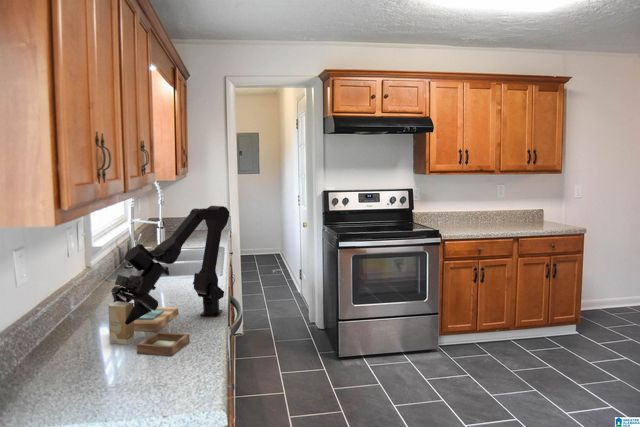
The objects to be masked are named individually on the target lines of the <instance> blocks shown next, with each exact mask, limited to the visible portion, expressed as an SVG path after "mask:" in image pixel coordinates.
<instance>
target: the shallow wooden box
mask: <svg viewBox="0 0 640 427" xmlns="http://www.w3.org/2000/svg"><path fill="white" fill-rule="evenodd" d="M150 310H151V309H150ZM178 315H179V307H169V306H167V307H165V306H163V307H161V306H160V307H159V306H158V307H157V309H156V310H155V311H154V310H151V312H149V313H147V314H145V315H143V316H141V317H140V318H138V319H136V320H135V321H134V332H135V331H136V332H137V331H139V332H160V330H162V328H164V327H165V326H166V325H168V324H169V323H170V322H171V321H172V320H173V319H174V318H176V317H177V316H178Z"/></svg>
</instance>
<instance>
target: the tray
mask: <svg viewBox="0 0 640 427" xmlns="http://www.w3.org/2000/svg"><path fill="white" fill-rule="evenodd" d="M190 341H191V339H190V334H189V333H176V332H175V333H174V332H160V331H155V333H153V334H151V335H150V336H148V337H147V338H145V339H144V340H142V341H141V342H139V343H137V344H136V353H137V354H142V355H143V354H144V355H156V356H168V357H169V356H171V357H172V356H174V355H175V354H176V353H178V352H179V351H180V350H181V349H183V348H185V346H187V345H188V344H189V343H190Z"/></svg>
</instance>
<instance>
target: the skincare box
mask: <svg viewBox="0 0 640 427" xmlns="http://www.w3.org/2000/svg"><path fill="white" fill-rule="evenodd" d="M113 302H114V301H113ZM113 302H112V303H110V304H108V305H107V306H108V327H109V328H108V330H109V331H108V332H109V343H110V344H117V345H129V344H130V343H132V342H135V340H136V339H135V331H134V321H133V322H131V323H130V324H128V325H126V324H125V321H126V319H127V317H128V316H129V314H130V312H131V311H132V309H133V307H134V302H117V301H116V302H114V303H113Z"/></svg>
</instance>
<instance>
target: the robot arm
mask: <svg viewBox="0 0 640 427" xmlns="http://www.w3.org/2000/svg"><path fill="white" fill-rule="evenodd" d="M229 218H230V211H229V209H228V208H227V206H223V205H210V206H208V207H206V208H205V207H204V208H196V207H195V208H192V209H191V210H190V212H189V214H188V215H187V216H186V218H184V220H183V221H182V223H181V224H180V225H179V226H178V228H176V230H175V231H174V232H173V233H172V234H171V236H169V237H168V238H167V239H165V240H164V241H161V242H160V244H158V245H157V246H156V247H154V249H153V250H150V251H149V250H148V249H147V248H145V246H144V245H143V244H141V243H137V244H136V245H135V246H133V247H132V248H130V249H129V250H127V251H126V253H125V255H124V258H123V259H124V260H125V262H127V263H128V264H129V265H130V266H131V267H133V268H134V269H135V270H136V271H138V272H141V273H140V274H139V275H132V274H131V275H129V277H128V276H126V275H119V274H117V277H116V280H115V283H114V285H115V286H113V288H112V289H111V290H110V293H111V296H112V298H113V302H112V303H114V302H116V301H117V302H129V303H131V302H132V301H133V305H134V307H133V309H132V311H131V312H130V314H129V316H128V317H127V319H126V321H125V324H126V325H128V324H130V323H131V322H133V321H135V320H136V319H138V318H140V317H141V316H143V315H145V314H147V313H149V312H151V310H154V311H155V310H156V309H157V307H159V300H156V298H154V297H153V296H152V295H150V293H151V291H152V290H153V291H155V290H156V289H157V287H156V284H157V282H158V281H159V280H160V278H161V277H162V276H170V272H169V267H168V266H164V265H163V264H165V265H166V264H167V265H172V264H174V263H176V262H177V260H178V258H179V256H180V255H181V252H182V247H183V245H184V244H185V243H186V242H187V240H188V239H189V238H190V236H192V234H193V233H194V231H195V230H196V229H197V228H198V227H199V225H200V224H201V223H202V222H203V221H204V220H205V221H204V222H205V225H206V227H207V234H206V239H205V246H204V252H203V258H202V265H201V269H200V271H199V272H195V273H194V275H193V281H192V285H193V290H194V291H195V293H196V294H197V296H198V297H199V298H202V312H201V313H200V314H199V316H200V317H218V316H220V314H221V313H222V312H223V309H220V300H221V299H223V298H224V296H225V291H224V290H223V289H222V288H221V287H220V286H219V277H218V275H217V271H216V269H217V264H218V263H217V262H218V256H219V250H220V245H221V244H220V243H221V237H222V232H223V230H224V229H225V228H226V226H227V224H228V221H229ZM150 309H151V310H150Z"/></svg>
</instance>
